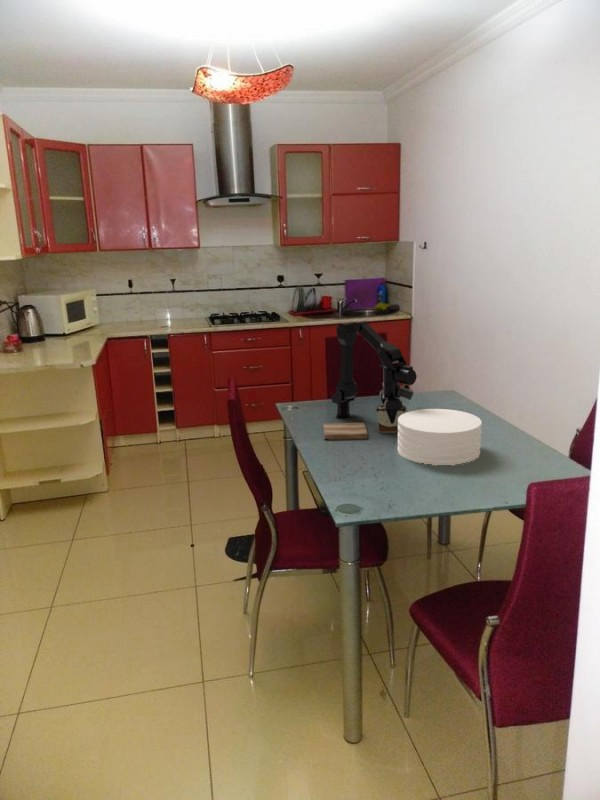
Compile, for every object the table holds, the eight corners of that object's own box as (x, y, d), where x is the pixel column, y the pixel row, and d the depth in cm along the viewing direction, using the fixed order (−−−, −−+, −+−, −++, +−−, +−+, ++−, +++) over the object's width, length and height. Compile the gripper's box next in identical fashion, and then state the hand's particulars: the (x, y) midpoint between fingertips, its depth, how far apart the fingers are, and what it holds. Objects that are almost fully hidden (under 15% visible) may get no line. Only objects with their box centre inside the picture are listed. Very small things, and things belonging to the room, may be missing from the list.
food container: (405, 427, 233) (406, 402, 230) (407, 432, 227) (407, 407, 225) (374, 427, 234) (374, 403, 232) (374, 432, 228) (374, 407, 226)
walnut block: (323, 428, 235) (323, 423, 234) (363, 427, 235) (363, 422, 234) (324, 440, 221) (324, 434, 221) (367, 438, 221) (367, 433, 221)
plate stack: (479, 440, 216) (481, 410, 213) (480, 468, 190) (482, 435, 187) (402, 436, 223) (402, 407, 220) (392, 463, 197) (393, 430, 194)
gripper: (416, 385, 217) (415, 426, 221) (407, 374, 235) (407, 412, 239) (386, 386, 217) (385, 427, 221) (379, 375, 235) (379, 413, 239)
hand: (390, 419), depth 230 cm, fingers open, 9 cm apart
